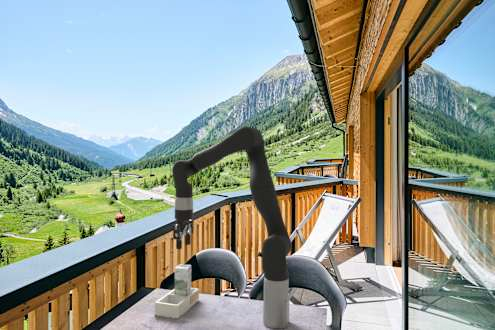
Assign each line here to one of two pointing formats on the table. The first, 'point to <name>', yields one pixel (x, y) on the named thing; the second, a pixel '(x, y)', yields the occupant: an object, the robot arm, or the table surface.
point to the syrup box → (183, 280)
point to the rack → (175, 303)
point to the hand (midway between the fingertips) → (183, 246)
